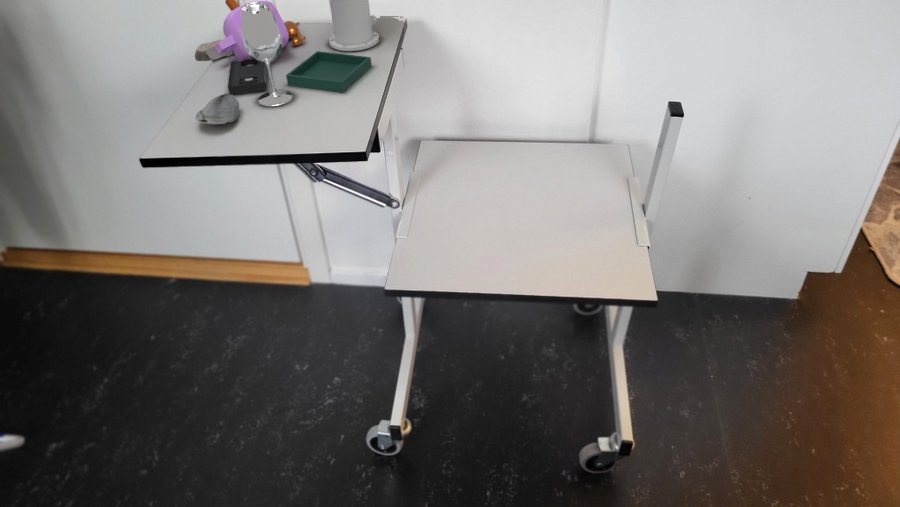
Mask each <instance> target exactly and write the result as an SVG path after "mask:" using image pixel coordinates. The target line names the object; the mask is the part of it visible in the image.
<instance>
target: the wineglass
mask: <svg viewBox="0 0 900 507" xmlns="http://www.w3.org/2000/svg"><path fill="white" fill-rule="evenodd" d="M254 2H255V1H254ZM249 3H250V2H249ZM245 4H246V3H245ZM243 5H244V4H243ZM241 27H242V39H243V44H244V47H245V50H246V51H247V53H248V54H249V55H250V56H251V57H252V58H253V59H255V60H257V61H259V62H263V63H265V65H266V68H267V71H266V72H267V75H268V78H269V84H270V87H271V91H268V92H265V93H262V94H261V95H260V96H259V97H258V99H257V102H258V104H259V105H261V106H263V107H269V108H271V107H272V108H273V107H280V106H283V105H287V104H288V103H290V102H291V101H292V100H293V98H294V95H293V93H292V92H290V91H289V90H283V89H276V86H275V82H274V78H273V74H272V73H273V72H272V67H271V63H272V62H273V61H274V60H276V59H277V57H279V55H280V54H281V52H282V49H283V47H282V38H281V34H280V31H279V28H278V25H277V23H276V20H275V18H274V15H273V13H272V11H271V9H270V6H269V5H268V4H267V3H263V2H255V3H250V4H246V5H244V6H242V7H241Z"/></svg>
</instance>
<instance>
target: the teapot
mask: <svg viewBox="0 0 900 507" xmlns="http://www.w3.org/2000/svg"><path fill="white" fill-rule="evenodd" d="M255 2H263V3H267V4H268V5H269V6H270V9H271V11H272V13H273V15H274V18H275V20H276V23H277V25H278V28H279V31H280V34H281V38H282V48H284V47H285V46H286V45H287V44H288V42H289V39H290V38H289V34H288V31H287V29H286V26H285V24H284V23H285V21H284V20H283V18H282V16H281V15H280V13H279V11H278V8H276V6H275V5H274V3H273V2H271V1H268V0H256V1H250V2H247V3H243V4H242V5H239V7H237V8H236V9H234V10H233V11H231V10H230V12H229V13H228V14H227V15H226V16H225V18H224V20H223V23H222V24H223V25H222V31H223V35H224V38H223V39H220V40H221V41H219V42H218V43H217V44H216V46H215V48H216V50H217V52H218V54H222V53H224V52H226V51H229V50H231V49H232V50H233V55H235V58H237V59H238V61H243V60H251V59H253V58H252V57H251V56H250V55H249V54H248V53H247V51H246V50H245V47H244V44H243V39H242V27H241V7H242V6H244V5H246V4H250V3H255Z"/></svg>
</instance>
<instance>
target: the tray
mask: <svg viewBox="0 0 900 507" xmlns="http://www.w3.org/2000/svg"><path fill="white" fill-rule="evenodd" d="M371 68H372V60H371V56H364V55H354V54H345V53H338V52H330V51H319V50H317V51H316V52H314V53H313V54H312V55H310V56H309V57H308V58H306V59H305V60H304V61H303V62H301V63H300V64H298V65H297V66H296V67H295V68H293V69H292V70H291V71H289V72H288V73H287V74H286V75H285V77H286V83H287V86H290V87H297V88H304V89H310V90H311V89H313V90H319V91H328V92H333V93H334V92H335V93H340V94H341V93H343V94H344V93H345V92H346V91H347V90H348V89H350V88H351V87H352V86H353V85H354V84H356V82H357V81H359V79H361V78H362V77H363V76H364V75H366V73H367V72H368V71H369V70H370V69H371Z"/></svg>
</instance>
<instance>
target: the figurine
mask: <svg viewBox="0 0 900 507" xmlns="http://www.w3.org/2000/svg"><path fill="white" fill-rule="evenodd" d="M284 24H285V26H286V29H287V31H288V34H289V39H291V46H293V47H297V46H299V45H300V44H302V42H304V41H306V39H307V36H303V37H302V36H301V33H300V29H299V27H300V26H299V25H300V22H299V21H298V22H294V21H292V20H286V21H284Z"/></svg>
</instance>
